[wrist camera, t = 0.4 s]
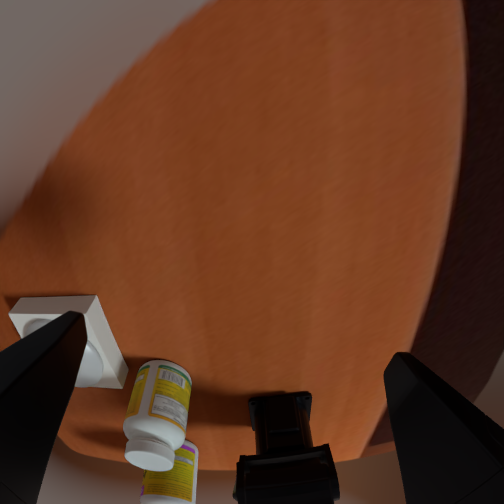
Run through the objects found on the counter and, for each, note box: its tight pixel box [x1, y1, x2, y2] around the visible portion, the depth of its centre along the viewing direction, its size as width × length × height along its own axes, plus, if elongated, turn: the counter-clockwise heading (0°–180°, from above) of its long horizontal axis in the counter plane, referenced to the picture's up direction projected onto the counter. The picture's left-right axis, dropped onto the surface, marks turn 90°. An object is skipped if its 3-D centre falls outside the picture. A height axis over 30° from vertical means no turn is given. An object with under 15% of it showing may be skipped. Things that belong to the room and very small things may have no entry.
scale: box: [8, 295, 129, 389], centre depth 25 cm, size 9×10×4 cm
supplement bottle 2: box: [140, 440, 198, 504], centre depth 30 cm, size 7×7×13 cm
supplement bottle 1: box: [123, 360, 192, 471], centre depth 24 cm, size 5×5×10 cm
